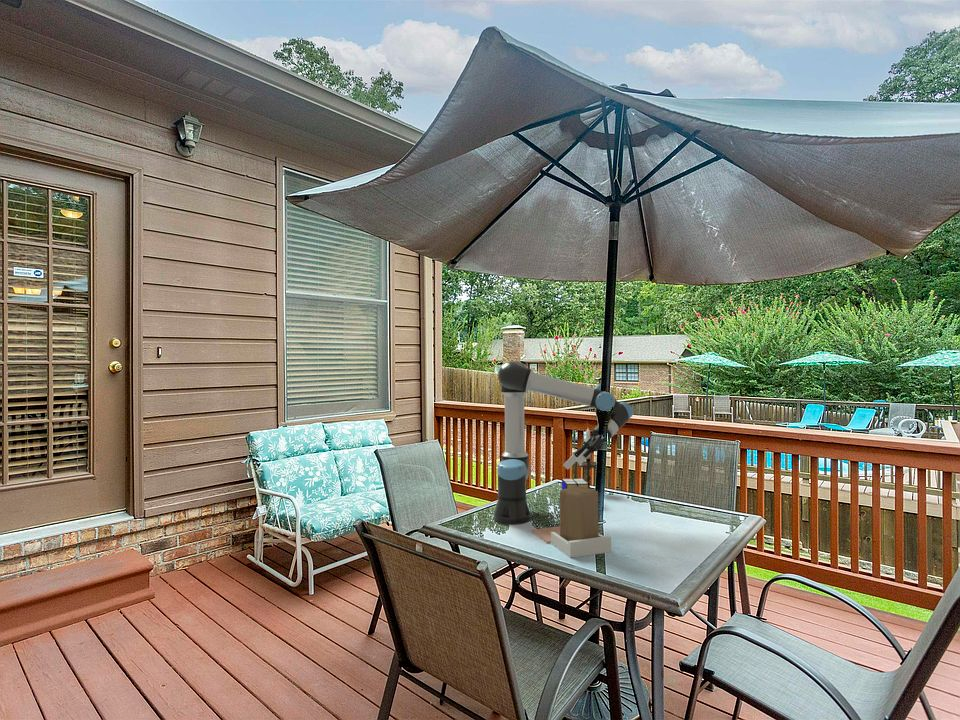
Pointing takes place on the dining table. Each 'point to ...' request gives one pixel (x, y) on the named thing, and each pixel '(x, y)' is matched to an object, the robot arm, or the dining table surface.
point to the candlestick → (588, 461)
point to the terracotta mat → (546, 533)
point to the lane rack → (582, 545)
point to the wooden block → (578, 513)
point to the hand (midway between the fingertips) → (571, 464)
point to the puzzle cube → (573, 483)
